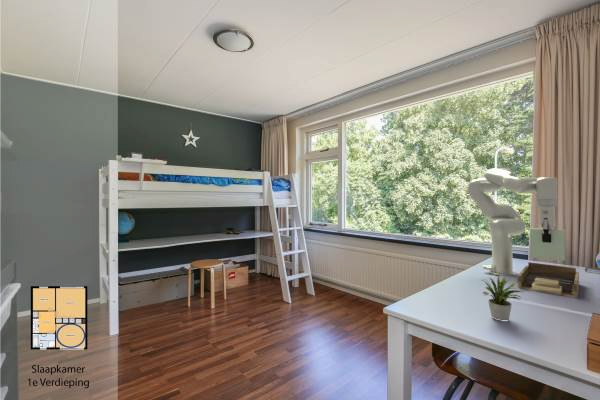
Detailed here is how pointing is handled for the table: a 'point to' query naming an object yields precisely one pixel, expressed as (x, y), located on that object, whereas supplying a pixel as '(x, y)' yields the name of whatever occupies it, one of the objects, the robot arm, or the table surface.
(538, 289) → the offcut lower
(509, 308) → the house plant
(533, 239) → the green panel
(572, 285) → the rack
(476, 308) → the table surface
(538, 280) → the offcut upper
